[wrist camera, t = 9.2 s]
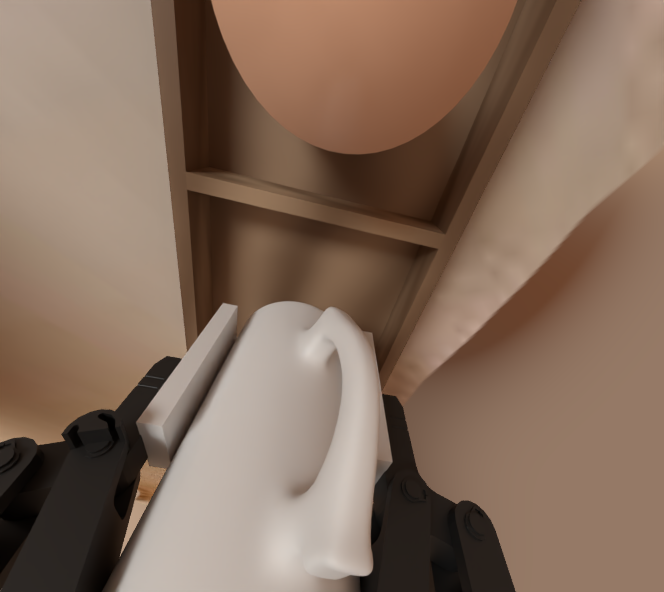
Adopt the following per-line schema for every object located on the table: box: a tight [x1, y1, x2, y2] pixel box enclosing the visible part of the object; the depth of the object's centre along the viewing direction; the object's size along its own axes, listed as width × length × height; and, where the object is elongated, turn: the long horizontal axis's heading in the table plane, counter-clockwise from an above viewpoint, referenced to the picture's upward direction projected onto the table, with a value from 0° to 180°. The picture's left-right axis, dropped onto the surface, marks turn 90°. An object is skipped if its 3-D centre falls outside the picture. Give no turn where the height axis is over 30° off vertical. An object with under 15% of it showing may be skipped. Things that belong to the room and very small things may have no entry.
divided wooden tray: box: [151, 0, 581, 392], centre depth 14 cm, size 15×26×3 cm, turn 167°
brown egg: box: [211, 0, 517, 154], centre depth 8 cm, size 7×7×7 cm
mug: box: [102, 301, 380, 592], centre depth 10 cm, size 10×7×12 cm, turn 147°
